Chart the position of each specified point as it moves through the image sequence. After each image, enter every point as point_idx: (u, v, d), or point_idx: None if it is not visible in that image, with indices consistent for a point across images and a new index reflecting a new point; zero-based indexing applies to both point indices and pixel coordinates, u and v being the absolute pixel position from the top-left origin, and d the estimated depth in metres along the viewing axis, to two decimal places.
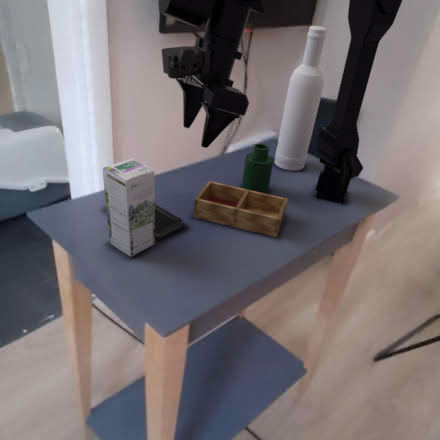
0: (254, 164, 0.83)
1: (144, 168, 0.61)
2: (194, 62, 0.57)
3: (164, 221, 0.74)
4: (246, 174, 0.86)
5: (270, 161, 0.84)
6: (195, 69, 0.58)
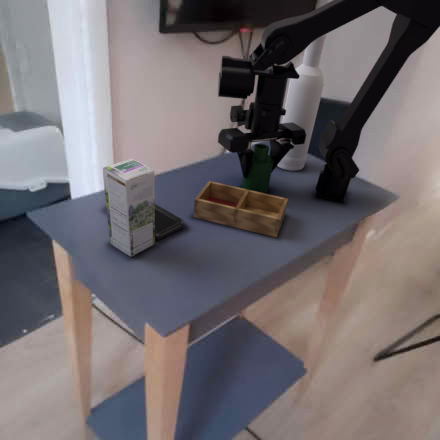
0: (254, 164, 0.83)
1: (144, 168, 0.61)
2: (235, 114, 0.81)
3: (164, 221, 0.74)
4: None
5: (270, 161, 0.84)
6: (235, 119, 0.82)
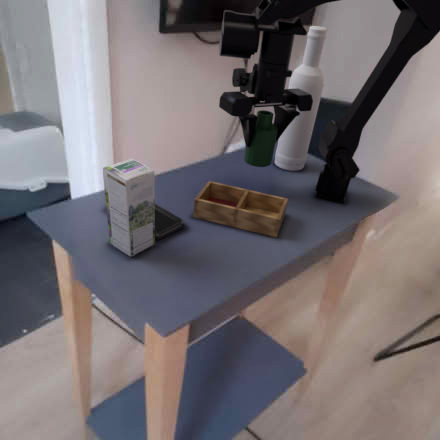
0: (257, 131, 0.78)
1: (144, 168, 0.61)
2: (237, 77, 0.77)
3: (164, 221, 0.74)
4: None
5: (274, 129, 0.79)
6: (238, 83, 0.77)
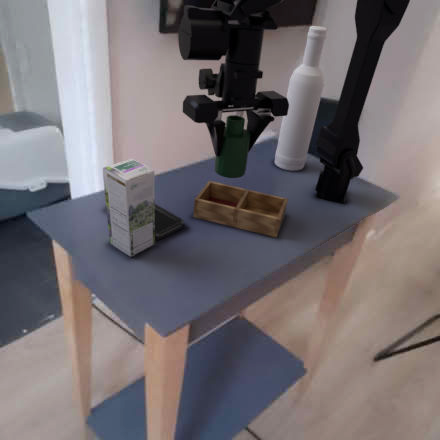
0: (227, 139, 0.70)
1: (144, 168, 0.61)
2: (203, 79, 0.68)
3: (164, 221, 0.74)
4: None
5: (246, 136, 0.71)
6: (204, 85, 0.69)
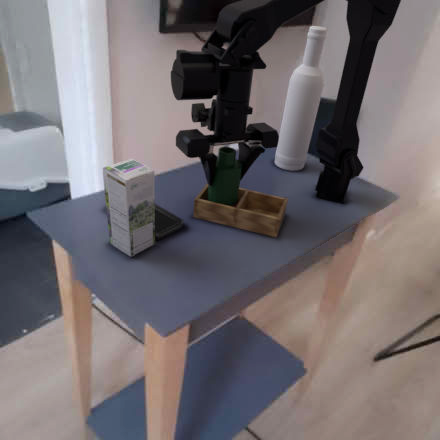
0: (219, 170, 0.72)
1: (144, 168, 0.61)
2: (196, 113, 0.71)
3: (164, 221, 0.74)
4: None
5: (238, 167, 0.73)
6: (196, 119, 0.71)
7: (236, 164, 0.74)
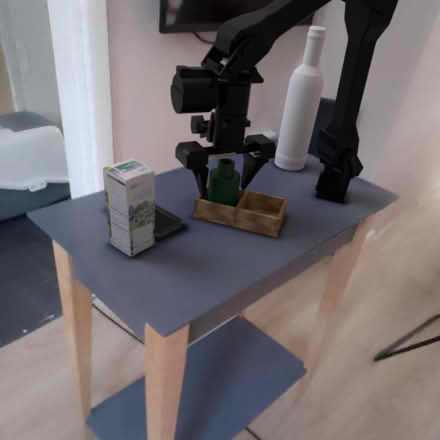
0: (218, 181, 0.74)
1: (144, 168, 0.61)
2: (195, 125, 0.72)
3: (164, 221, 0.74)
4: (210, 192, 0.76)
5: (236, 178, 0.75)
6: (196, 130, 0.72)
7: (235, 175, 0.76)
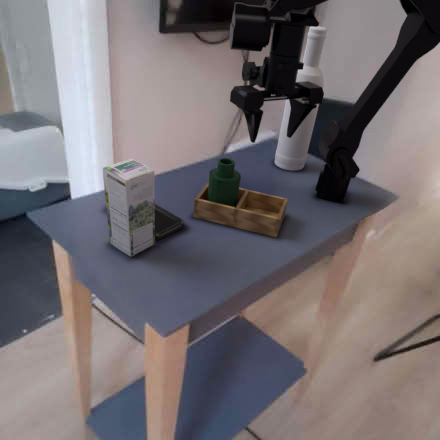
0: (218, 181, 0.74)
1: (144, 168, 0.61)
2: (247, 71, 0.76)
3: (164, 221, 0.74)
4: (210, 192, 0.76)
5: (236, 178, 0.75)
6: (248, 77, 0.76)
7: (235, 175, 0.76)
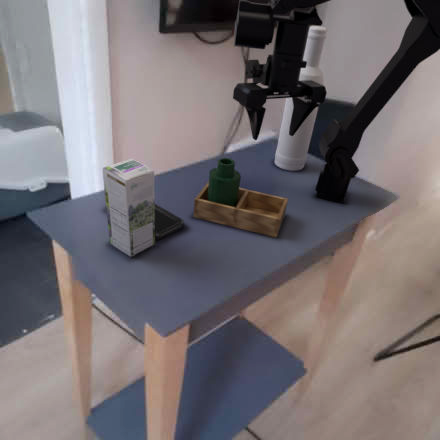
0: (218, 181, 0.74)
1: (144, 168, 0.61)
2: (251, 69, 0.76)
3: (164, 221, 0.74)
4: (210, 192, 0.76)
5: (236, 178, 0.75)
6: (251, 74, 0.76)
7: (235, 175, 0.76)
